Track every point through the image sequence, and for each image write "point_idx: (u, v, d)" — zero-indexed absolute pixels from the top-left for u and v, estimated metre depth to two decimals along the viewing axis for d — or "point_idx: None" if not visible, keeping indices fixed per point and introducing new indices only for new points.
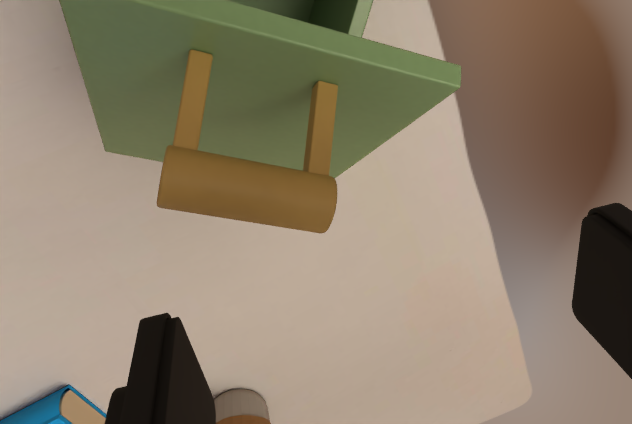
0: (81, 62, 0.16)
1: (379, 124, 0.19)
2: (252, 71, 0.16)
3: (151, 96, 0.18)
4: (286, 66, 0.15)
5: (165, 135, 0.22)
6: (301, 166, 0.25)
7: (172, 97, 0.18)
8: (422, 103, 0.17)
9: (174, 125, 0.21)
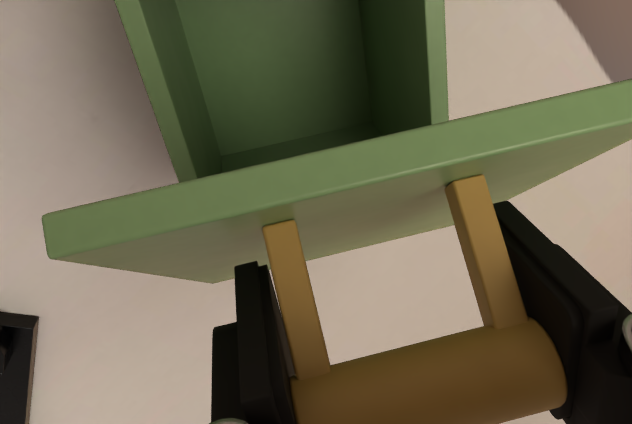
0: (141, 271, 0.12)
1: (546, 172, 0.13)
2: (354, 207, 0.11)
3: (236, 256, 0.14)
4: (402, 189, 0.10)
5: (268, 261, 0.18)
6: (435, 222, 0.19)
7: (260, 248, 0.14)
8: (622, 139, 0.10)
9: None
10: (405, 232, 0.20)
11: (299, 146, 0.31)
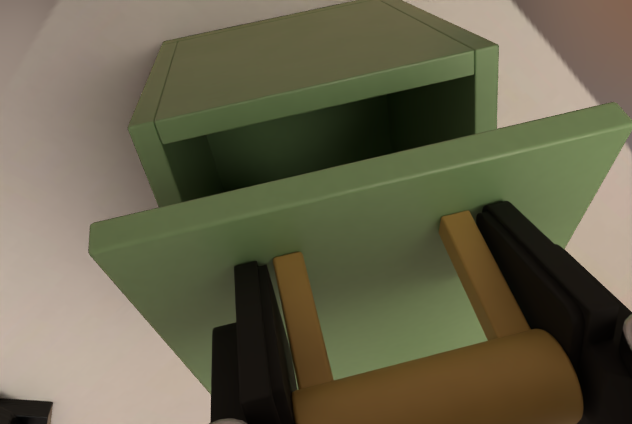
0: (167, 338, 0.13)
1: None
2: (356, 248, 0.12)
3: None
4: (394, 219, 0.11)
5: None
6: (466, 342, 0.19)
7: None
8: (590, 176, 0.12)
9: None
10: None
11: None
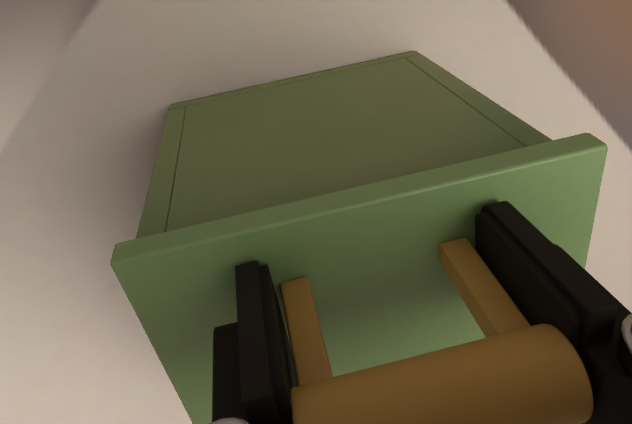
0: (178, 386, 0.13)
1: None
2: (361, 278, 0.12)
3: None
4: (393, 243, 0.12)
5: None
6: None
7: None
8: (580, 203, 0.12)
9: None
10: None
11: None
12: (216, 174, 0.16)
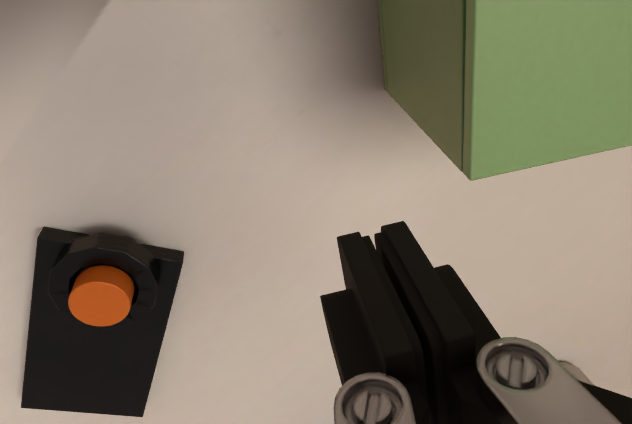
0: None
1: None
2: None
3: None
4: None
5: (549, 62, 0.18)
6: None
7: None
8: None
9: (563, 20, 0.18)
10: None
11: None
12: None
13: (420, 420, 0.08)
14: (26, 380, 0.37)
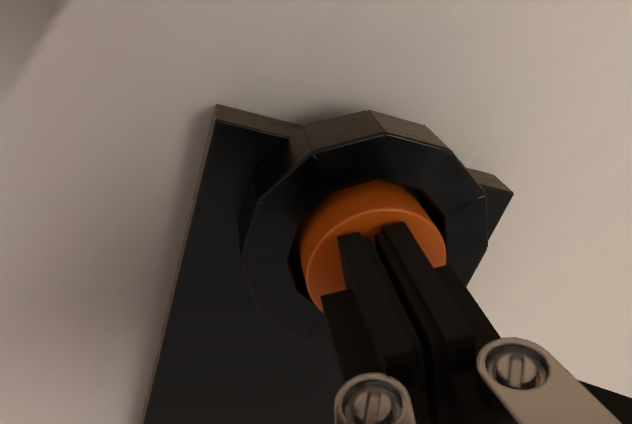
0: None
1: None
2: None
3: None
4: None
5: None
6: None
7: None
8: None
9: None
10: None
11: None
12: None
13: (420, 420, 0.08)
14: None
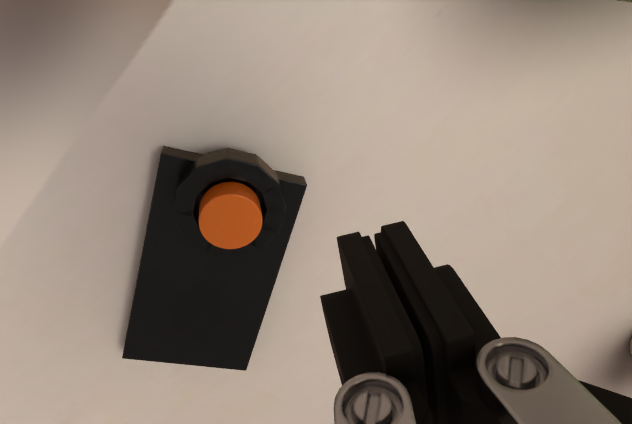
0: None
1: None
2: None
3: None
4: None
5: None
6: None
7: None
8: None
9: None
10: None
11: None
12: None
13: (420, 420, 0.08)
14: (131, 325, 0.34)
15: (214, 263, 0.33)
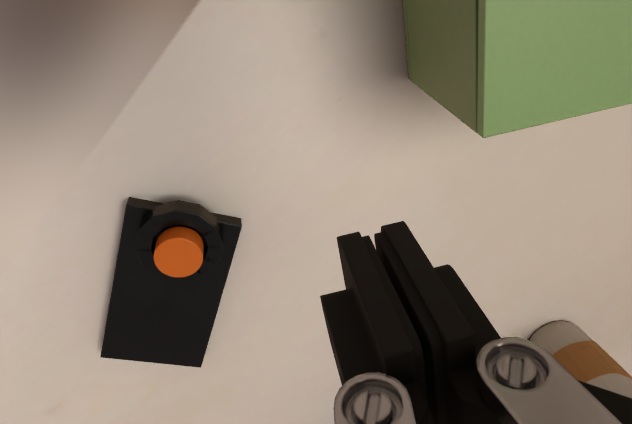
0: None
1: None
2: None
3: None
4: None
5: (539, 46, 0.25)
6: None
7: None
8: None
9: (548, 15, 0.25)
10: None
11: None
12: None
13: (420, 420, 0.08)
14: (107, 331, 0.44)
15: (171, 284, 0.42)
